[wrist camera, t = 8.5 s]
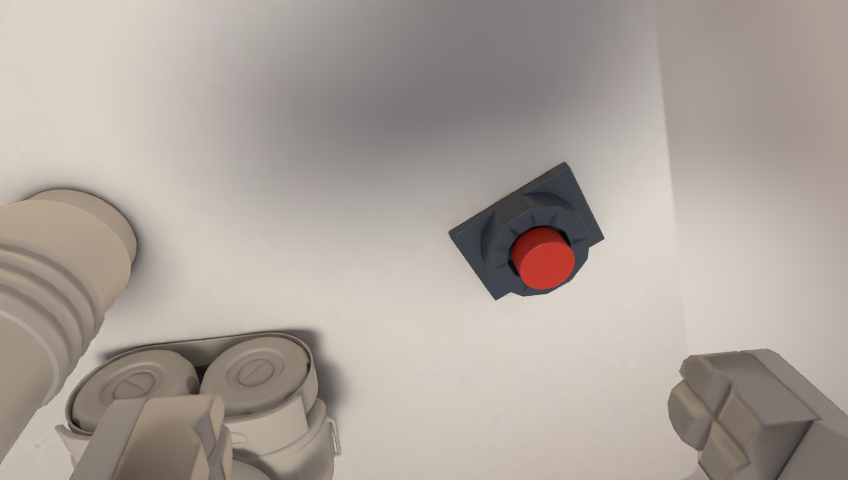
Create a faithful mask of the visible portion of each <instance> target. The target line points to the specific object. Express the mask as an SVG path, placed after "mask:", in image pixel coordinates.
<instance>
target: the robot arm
mask: <svg viewBox="0 0 848 480" xmlns="http://www.w3.org/2000/svg"><path fill="white" fill-rule="evenodd" d="M679 372H680V374H681V376H682V378H683V380H682V381H681V382H680V383H679V384H677V385H676V386H675V387H674V388H673V389H672V391H671V394H670V397H669V400H668V411H669V418H670V420H671V423H672V425H673V427H674V429H675V431H676V432H677V434H678V435H679V437H680V438H681V440H682V441H683V442H685V443H686V444H688V445H689V446H691V447H693V448H694V449H696V450H697V451H698V464H699V465H700V466H701V468H702V469H703V470H704V472H705V473H706V475H707V476H708V477H709V479H710V480H848V416H847V415H846V414H845V413H844V412H843V411H842V410H840V408H838V407H837V406H836V405H835V404H834V403H833V402H832V401H831V400H829V399H828V398H827V397H826V396H825V395H824V394H823V393H822V392H820V391H819V390H818V389H817V388H816V387H815V386H814V385H813V384H811V383H810V382H809V381H808V380H807V379H806V378H805V377H804V376H803V375H801V374H800V373H799V372H798V371H797V370H796V369H795V368H794V367H792V366H791V365H790V364H789V363H788V362H787V361H786V360H784V359H783V358H782V357H781V356H780V355H779V354H777V353H776V352H774V351H771V350H769V349H757V350H745V351H740V352H737V351H735V352H723V353H712V354H701V355H690V356H689V357H688V358H687V359H686V360H684V361H683V364H682V366H681V368H680V371H679ZM224 413H225V407H224V403H223V399H222V396H221V395H220V394H217V393H215V394H197V395H178V396H160V397H151V398H135V399H117V400H115V401H114V402H113V403H112V404H111V405H110V406H108V408H107V409H106V411H105V412H104V414H103V416H102V418H101V420H100V422H99V424H98V426H97V428H96V430H95V432H94V433H93V435H92V437H91V439H90V441H89V443H88V445H87V447H86V449H85V451H84V452H83V454H82V456H81V458H80V460H79V462H78V464H77V466H76V468H75V470H74V472H73V473H72V475H71V477H70V479H69V480H230V476H231V469H232V456H233V450H232V438H231V433H230V429H229V428H228V427H226V426H225V425H224V424H222V421H223V417H224Z"/></svg>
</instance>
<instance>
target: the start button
mask: <svg viewBox="0 0 848 480" xmlns="http://www.w3.org/2000/svg"><path fill="white" fill-rule="evenodd" d="M512 261H513V264H514V265H515V267H516V269H517V271H518V273H519V275H520V277H521V279H522V280H523V282H524V283H525V284H526V285H528V286H529V287H532V288H535V289H549V288H553V287H555V286H557V285H559V284H561V283H562V282H563V281H565V280H566V279H567V278H568V277H569V275H570V274H571V272H572V270H573V268H574V264H575V257H574V253H573V251H572V250H571V248H570V247H569V246H568V244H567V243H566V242H565V240H564V239H563V238H562V236H561V235H560V234H559V233H558V232H557V231H555V230H553V229H550V228H545V227H541V228H535V229H532V230H529V231H527V232H526V233H524V234H523V235H522V236H520V237H519V238H518V240H517V241H516V242H515V244H514V246H513V249H512Z"/></svg>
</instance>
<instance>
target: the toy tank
mask: <svg viewBox="0 0 848 480" xmlns="http://www.w3.org/2000/svg"><path fill="white" fill-rule="evenodd" d="M207 365H210V366H209V367H208V369H207V370H206V372H205V375H204V378H203V381H202V383H201V386H200V383H199V379H198V376H197V373H196V371H195V368H194V367H199V366H207ZM317 392H318V381H317V376H316V371H315V367H314V362H313V357H312V353H311V351H310V349H309V347H308V346H307V345H306V344H305V343H304V342H303V341H302V340H300V339H298V338H296V337H294V336H292V335H288V334H284V333H259V334H250V335H241V336H233V337H224V338H215V339H206V340H197V341H188V342H179V343H171V344H162V345H153V346H146V347H141V348H137V349H134V350H131V351H128V352H125V353H122V354H120V355H118V356H116V357H114V358H112V359H110V360H108V361H106V362H104V363H103V364H101V365H100V366H98V367H97V368H95V369H94V370H93V371H91V372H90V373H89V374H88V375H87V376H85V377H84V378H83V379H82V380H81V381H80V382H79V384H78V385H77V386H76V387H75V388H74V390H73V391H72V393H71V395H70V396H69V398H68V401H67V404H66V408H65V415H66V419H67V421H68V426H69V428H70V429H71V431H72V432H71V431H69V430H68V429H67V428H66V427H65V426H64V425H57V426H56V427H55V430H56V431H57V433H58V434H59V436H60V438H61V439H62V441H63V442H64V444H65V446H66V447H67V449H68V450H69V452H70V453H71V461H72V465H73V467H74V469H75V468H76V466H77V464H78V462H79V460H80V458H81V456H82V454H83V452H84V451H85V449H86V447H87V445H88V443H89V441H90V439H91V437H92V435H93V433H94V432H95V430H96V428H97V426H98V424H99V422H100V420H101V418H102V416H103V414H104V412H105V411H106V409H107V408H108V406H110V405H111V404H112V403H113V402H114V401H115V400H117V399H135V398H151V397H160V396H178V395H197V394H215V393H217V394H220V395H221V396H222V399H223V403H224V407H225V413H224V417H223V421H222V424H224V425H225V426H226V427H228V428H229V429H230V433H231V438H232V450H233V456H232V469H231V476H230V480H332V477H333V472H334V461H333V460H334V457H337V456H339V455H340V454H341V447H340V442H339V436H338V431H337V425H336V421H335V419H334V418H329V417H328V414H327V411H326V406H325V403H324V402H323V401H322V400H320V399H319V398H317V397H316V396H317ZM330 422H332V426H333V431H334V436H335V442H336V447H337V453H335V448H334V442H333V437H332V432H331V427H330Z"/></svg>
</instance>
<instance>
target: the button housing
mask: <svg viewBox="0 0 848 480" xmlns="http://www.w3.org/2000/svg"><path fill="white" fill-rule="evenodd" d="M541 227H545V228H550V229H553V230H555V231H557V232H558V233H559V234H560V235H561V236H562V238H563V239H564V240H565V242H566V243H567V244H568V246H569V247H570V248H571V250H572V251H573V253H574V257H575V264H574V268H573V270H572V272H571V274H570V275H569V277H568V278H567V279H566V280H565V281H563V282H562V283H561V284H559V285H557V286H555V287H553V288H549V289H535V288H532V287H529V286H528V285H526V284H525V283H524V282H523V280H522V279H521V277H520V275H519V273H518V271H517V269H516V267H515V265H514V264H513V261H512V249H513V246H514V244H515V242H516V241H517V240H518V238H519V237H520V236H522V235H523V234H524V233H526V232H527V231H529V230H532V229H535V228H541ZM449 235H450V238H451V239H452V241H453V242H454V243H455V245H456V246H457V248H458V249H459V250H460V252H461V253H462V255H463V256H464V257H465V259H466V260H467V262H468V263H469V264H470V266H471V267H472V269H473V270H474V271H475V273H476V274H477V276H478V277H479V278H480V280H481V281H482V283H483V284H484V285H485V287H486V288H487V290H488V291H489V292H490V294H491V295H492V297H493V298H494V300H498V299H499V298H501V297H503V296H505V295H506V294H508V293H510V292H512V293H515V294H518V295H520V296H532V295H541V294H548V293H550V292H551V291H553V290H555V289H557V288H559V287H560V286H562V285H564V284H566V283H568V282H569V281H571V280H572V279H573V277H574V276H575V275H576V273H577V272H578V271H579V269H580V268H581V267H582V266H583V264H584V263H585V262H586V260H587V257H588V251H589V247H591V246H593V245H595V244H596V243H598V242H600V241H602V240H603V239H604V236H603V234H602V232H601V230H600V228H599V226H598V224H597V222H596V220H595V218H594V216H593V214H592V212H591V210H590V208H589V206H588V204H587V202H586V199H585V197H584V195H583V193H582V191H581V189H580V187H579V185H578V183H577V181H576V179H575V177H574V175H573V173H572V171H571V169H570V167H569V166H568V165H567V164H566V163H565V162H564V163H562V164H560V165H559V166H557V167H555V168H554V169H552V170H550V171H549V172H547V173H545V174H544V175H542V176H541V177H539V178H537V179H536V180H534V181H532V182H531V183H529V184H527V185H526V186H524V187H522V188H521V189H519V190H517V191H516V192H514V193H512V194H511V195H509V196H508V197H506V198H504V199H503V200H501V201H499V202H498V203H496V204H494V205H493V206H491V207H489V208H488V209H486V210H484V211H483V212H481V213H479V214H478V215H476V216H475V217H473V218H471V219H470V220H468V221H466V222H465V223H463V224H461V225H460V226H458V227H456V228H455V229H453V230H451V231H450V232H449Z"/></svg>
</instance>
